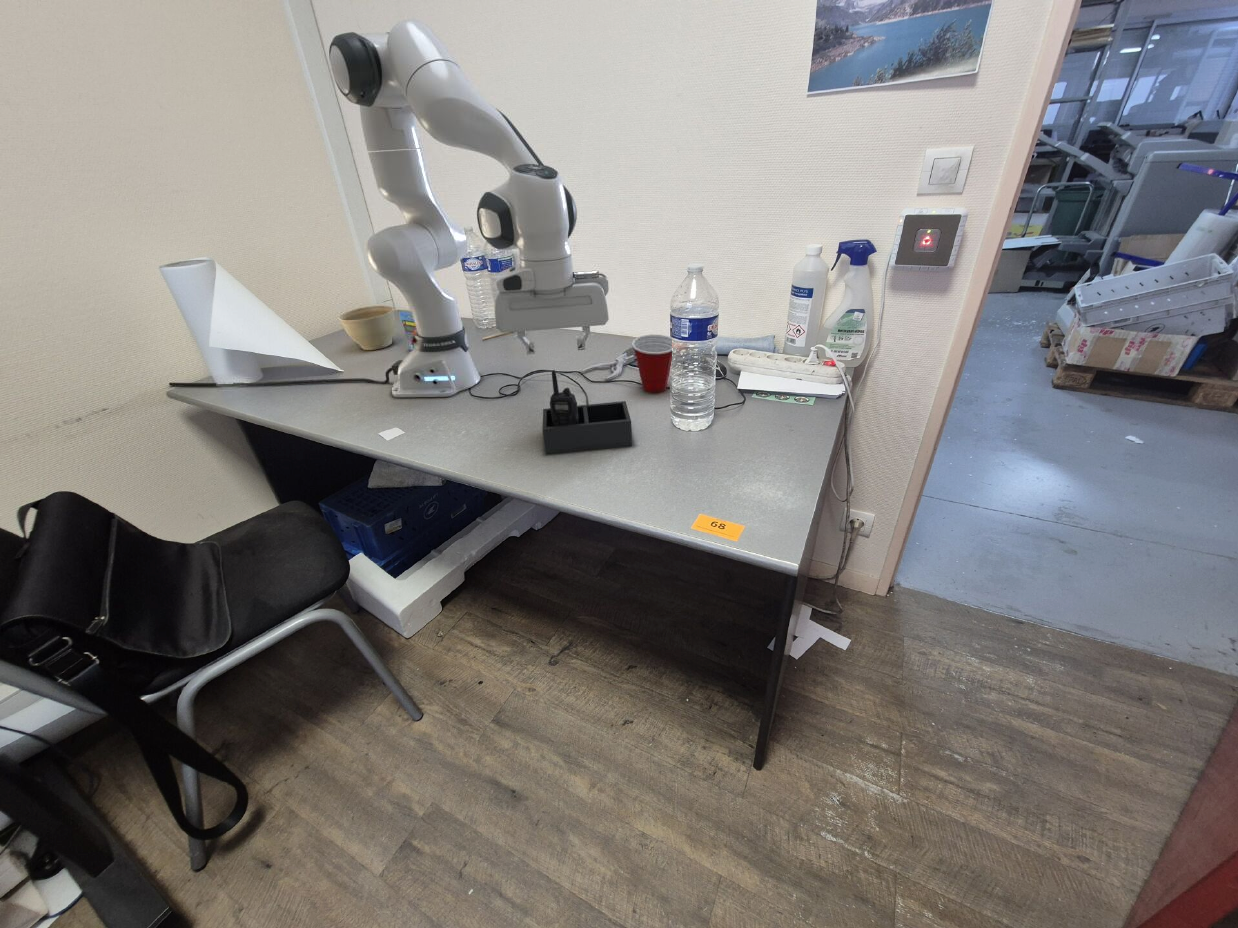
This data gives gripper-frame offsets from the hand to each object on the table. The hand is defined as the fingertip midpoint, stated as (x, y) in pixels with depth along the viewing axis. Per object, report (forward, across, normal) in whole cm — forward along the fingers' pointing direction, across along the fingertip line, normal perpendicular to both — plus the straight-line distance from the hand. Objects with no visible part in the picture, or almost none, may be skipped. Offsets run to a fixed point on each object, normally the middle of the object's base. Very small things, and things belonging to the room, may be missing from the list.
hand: (556, 351), depth 94 cm
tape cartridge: (+21, +44, -67) cm, 82 cm away
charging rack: (+20, -4, 0) cm, 20 cm away
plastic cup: (+20, -22, -22) cm, 37 cm away
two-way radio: (+19, 0, 0) cm, 19 cm away
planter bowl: (+21, +61, -76) cm, 99 cm away
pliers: (+20, -13, -38) cm, 45 cm away
